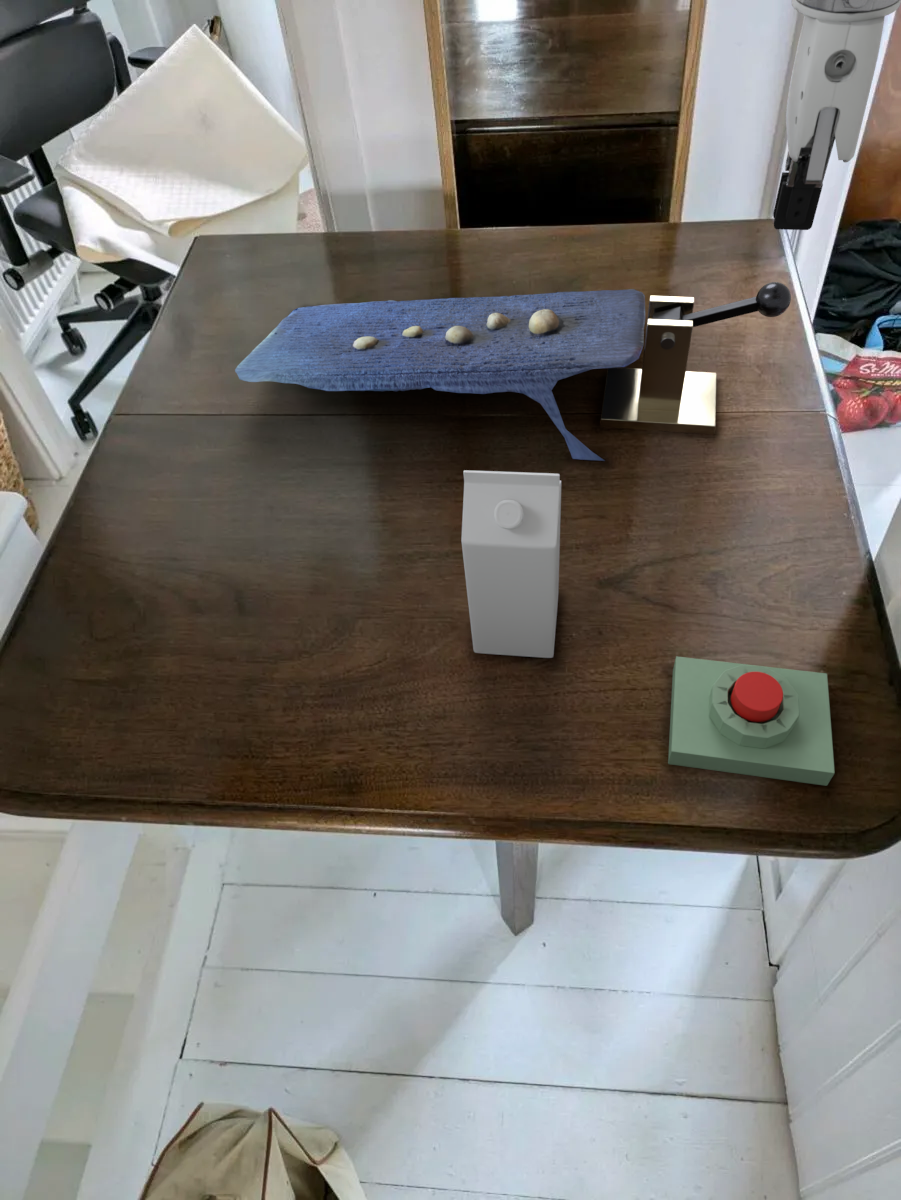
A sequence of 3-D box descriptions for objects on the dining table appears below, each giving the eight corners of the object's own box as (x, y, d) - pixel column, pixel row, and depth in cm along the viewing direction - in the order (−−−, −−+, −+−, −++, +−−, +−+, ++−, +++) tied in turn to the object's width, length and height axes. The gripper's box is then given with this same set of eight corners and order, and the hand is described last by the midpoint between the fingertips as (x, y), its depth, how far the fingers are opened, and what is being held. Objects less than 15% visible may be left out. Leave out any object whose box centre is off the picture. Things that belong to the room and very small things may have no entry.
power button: (777, 685, 67) (782, 674, 66) (779, 725, 65) (784, 714, 64) (730, 680, 68) (734, 668, 67) (730, 719, 66) (734, 708, 65)
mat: (241, 467, 97) (214, 370, 90) (312, 375, 119) (295, 291, 112) (645, 460, 88) (648, 351, 81) (642, 362, 110) (644, 270, 103)
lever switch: (792, 299, 83) (787, 271, 81) (793, 319, 81) (789, 290, 79) (659, 332, 89) (652, 307, 87) (658, 351, 87) (650, 325, 85)
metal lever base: (714, 381, 96) (733, 287, 87) (713, 434, 91) (733, 340, 81) (607, 375, 98) (614, 282, 89) (600, 427, 93) (606, 334, 83)
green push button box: (820, 687, 71) (833, 661, 68) (827, 786, 66) (841, 762, 63) (672, 670, 73) (678, 643, 70) (668, 764, 68) (674, 740, 65)
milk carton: (482, 591, 80) (469, 438, 65) (558, 596, 79) (562, 441, 64) (473, 654, 76) (457, 505, 61) (553, 659, 75) (556, 510, 60)
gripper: (920, 19, 56) (842, 272, 71) (894, -58, 65) (830, 181, 80) (800, 21, 58) (748, 269, 72) (791, -55, 67) (746, 180, 81)
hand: (791, 222), depth 76 cm, fingers closed
